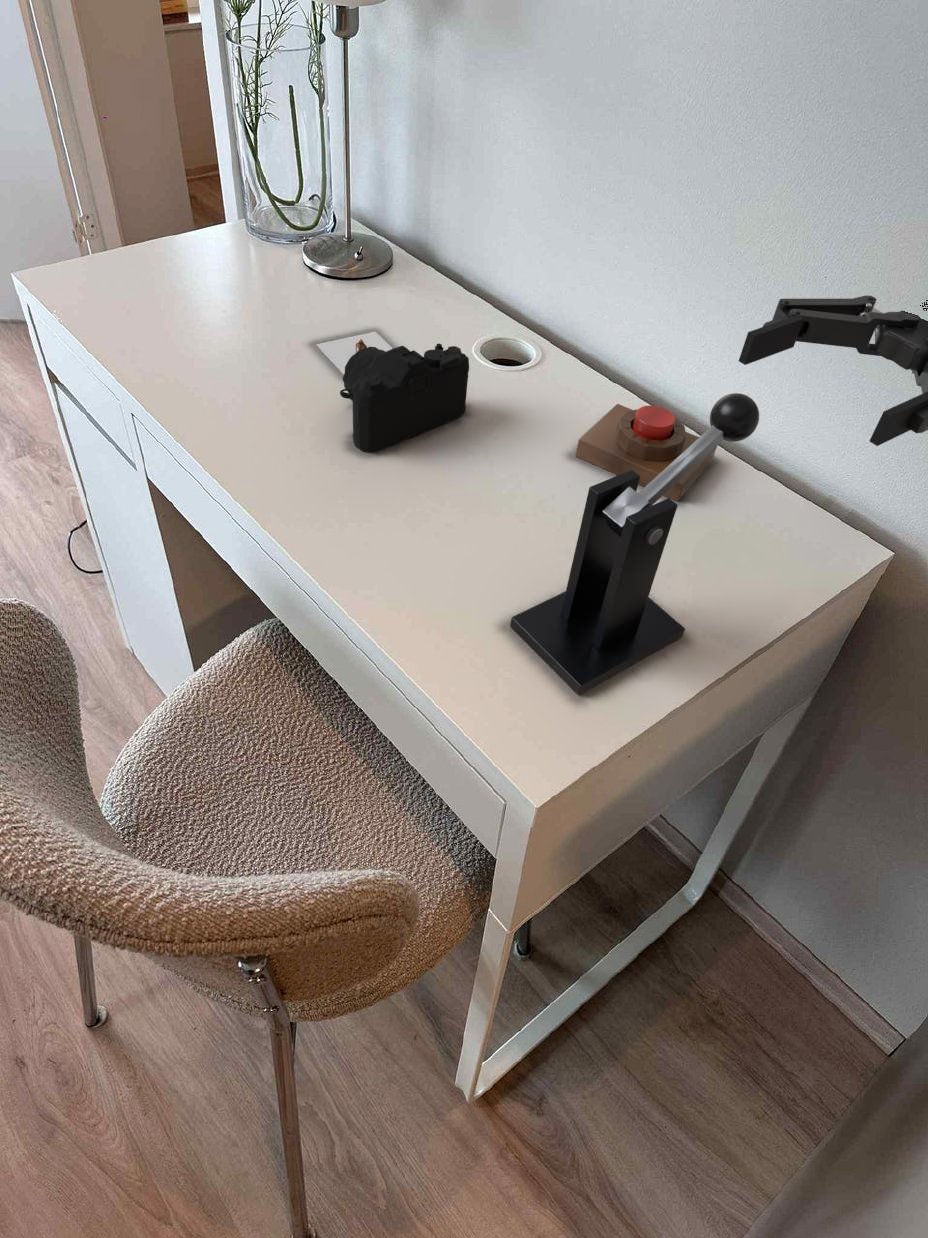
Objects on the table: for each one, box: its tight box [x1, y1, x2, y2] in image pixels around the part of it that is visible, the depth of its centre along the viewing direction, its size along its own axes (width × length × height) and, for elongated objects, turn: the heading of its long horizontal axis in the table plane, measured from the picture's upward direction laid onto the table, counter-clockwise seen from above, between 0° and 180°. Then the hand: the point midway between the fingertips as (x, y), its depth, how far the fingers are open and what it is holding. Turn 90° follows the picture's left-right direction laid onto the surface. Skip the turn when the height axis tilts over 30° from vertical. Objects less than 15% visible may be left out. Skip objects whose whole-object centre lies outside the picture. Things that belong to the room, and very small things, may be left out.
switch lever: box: [602, 392, 760, 537], centre depth 67 cm, size 14×4×4 cm, turn 126°
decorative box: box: [315, 330, 394, 376], centre depth 104 cm, size 8×8×2 cm
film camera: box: [339, 343, 470, 453], centre depth 93 cm, size 15×10×9 cm, turn 130°
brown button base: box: [575, 403, 718, 502], centre depth 93 cm, size 12×9×4 cm
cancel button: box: [633, 405, 676, 441], centre depth 91 cm, size 4×4×2 cm
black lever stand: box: [509, 470, 686, 696], centre depth 71 cm, size 12×9×15 cm
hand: (809, 386), depth 71 cm, fingers open, 13 cm apart
